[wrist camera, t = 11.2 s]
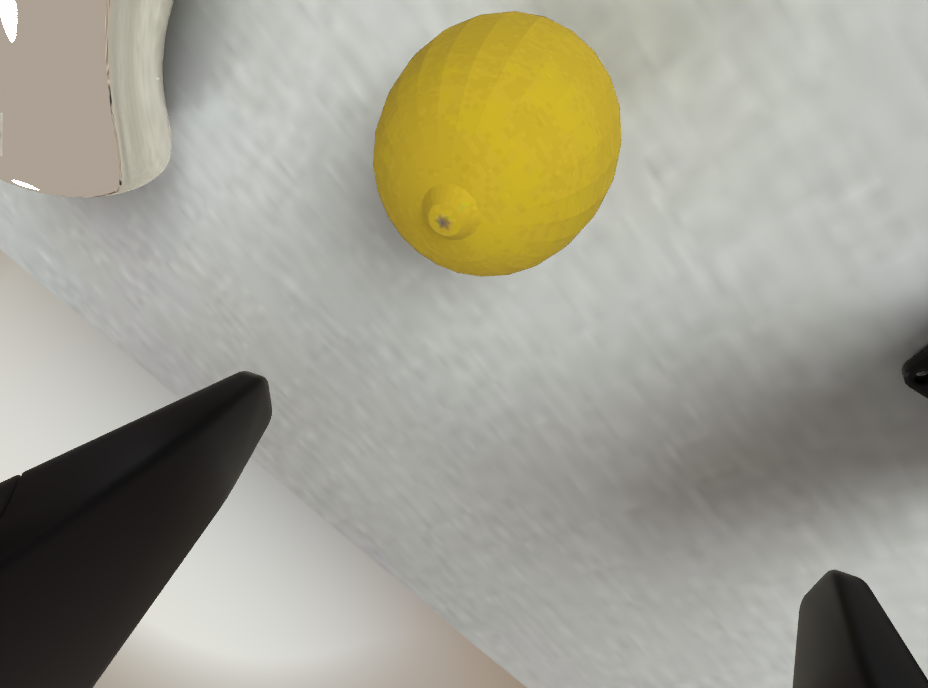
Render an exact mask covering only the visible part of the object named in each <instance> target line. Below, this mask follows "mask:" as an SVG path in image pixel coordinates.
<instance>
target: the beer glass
mask: <svg viewBox="0 0 928 688" xmlns="http://www.w3.org/2000/svg"><path fill="white" fill-rule="evenodd" d="M172 5H173V0H0V179H2V180H4V181H6V182H8V183H11V184H13V185H16V186H19V187H22V188H25V189H28V190H32V191H36V192H40V193H45V194H50V195H56V196H65V197H102V196H110V195H115V194H120V193H124V192H128V191H131V190H134V189H136V188H139V187H141V186H143V185H145V184H147V183H149V182H150V181H152V180H153V179H155V178H156V177H157V176H158V175H159V174H161V172H162V171H163V170H164V169H165V167H166V166H167V164H168V162H169V159H170V157H171V153H172V136H171V129H170V124H169V118H168V112H167V107H166V101H165V95H164V85H163V54H164V46H165V38H166V30H167V26H168V22H169V17H170V13H171V9H172Z"/></svg>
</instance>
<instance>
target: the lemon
mask: <svg viewBox="0 0 928 688" xmlns="http://www.w3.org/2000/svg"><path fill="white" fill-rule="evenodd" d="M620 147H621V123H620V108H619V103H618V100H617V97H616V94H615V90H614V87H613V84H612V81H611V78H610V76H609V74H608V72H607V71H606V69H605V68H604V66H603V65H602V63H601V61H600V60H599V58H598V57H597V55H596V54H595V52H594V51H593V50H592V49H591V48H590V47H589V46H588V45H587V44H586V43H585V42H584V41H582V40H581V39H580V38H579V37H578V36H577V35H576V34H575V33H574V32H573V31H571V30H569V29H567V28H565V27H563V26H561V25H559V24H557V23H556V22H554V21H552V20H550V19H548V18H546V17H542V16H537V15H532V14H527V13H521V12H503V13H493V14H483V15H479V16H476V17H474V18H472V19H469V20H467V21H464V22H462V23H459V24H457V25H454V26H452V27H449V28H448V29H446V30H444V31H443V32H442V33H440V34H439V35H438V36H437V37H436V38H434V39H433V40H432V41H431V42H429V43H428V44H427V45H426V46H424V47H423V48H422V49H421V50H420V51H419V52H417V53H416V54H415V55H414V57H413V58H412V59H411V60H410V62H409V63H408V65H407V66H406V68H405V69H404V71H403V72H402V73H401V75H400V76H399V78H398V79H397V81H396V82H395V84H394V85H393V87H392V89H391V90H390V92H389V94H388V97H387V99H386V102H385V105H384V108H383V111H382V114H381V117H380V120H379V122H378V126H377V129H376V134H375V147H374V162H373V166H374V172H375V177H376V183H377V188H378V192H379V196H380V198H381V200H382V203H383V205H384V208H385V210H386V213H387V215H388V217H389V219H390V220H391V221H392V223H393V224H394V226H395V227H396V229H397V230H398V232H399V233H400V235H401V236H402V237H403V238H404V239H405V240H406V241H407V242H408V243H409V244H410V245H411V246H412V247H413V248H414V249H415V250H416V251H417V252H419V253H420V254H422V255H423V256H425V257H426V258H428V259H430V260H431V261H433V262H434V263H436V264H437V265H440V266H442V267H445V268H447V269H450V270H453V271H455V272H458V273H463V274H469V275H475V276H496V275H509V274H512V273H515V272H519V271H522V270H525V269H528V268H531V267H534V266H536V265H538V264H540V263H541V262H543V261H544V260H546V259H548V258H549V257H551V256H552V255H554V254H555V253H557V252H558V251H560V250H561V249H563V248H564V247H566V246H567V245H568V244H569V243H570V242H571V241H572V240H573V239H574V238H575V237H576V235H577V234H578V233H579V232H580V231H581V230H582V229H583V228H584V227H585V226H586V224H587V223H588V222H589V221H590V220H591V219H592V218H593V217H594V215H595V214H596V212H597V211H598V209H599V207H600V205H601V203H602V201H603V199H604V197H605V195H606V193H607V191H608V189H609V187H610V185H611V183H612V181H613V179H614V175H615V171H616V166H617V161H618V156H619V151H620Z"/></svg>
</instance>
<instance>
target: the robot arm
mask: <svg viewBox="0 0 928 688" xmlns="http://www.w3.org/2000/svg"><path fill="white" fill-rule="evenodd" d="M921 371H928V348H926V349H925V350H923V351H922V352H920V353H919V354H917V355H916V356H914V357H913V358H911V359H910V360H908V361H907V362H906V363H905V364H904V365H903V367H902V374H903V377H904V380H905V383H906V384H907V385H908V386H909V387H910V388H912V389H913V390H915V391H917V392H918V393H920V394H921V395H923V396H925V397H926V398H928V374H926V375H920V376H918V375H916V374H917V373H919V372H921ZM271 416H272V405H271V399H270V392H269V385H268V381H267V380H266V378H265V377H263V376H260V375H257V374H254V373H251V372H248V371H242V372H238V373H236V374H234V375H232V376H230V377H227V378H225V379H223V380H221V381H219V382H217V383H215V384H212V385H210V386H208V387H206V388H204V389H202V390H199V391H197V392H195V393H193V394H191V395H189V396H187V397H184V398H182V399H180V400H178V401H176V402H174V403H171V404H169V405H167V406H165V407H163V408H161V409H159V410H157V411H154V412H152V413H150V414H148V415H146V416H143V417H141V418H139V419H137V420H135V421H133V422H131V423H128V424H126V425H124V426H122V427H120V428H118V429H116V430H113V431H111V432H109V433H107V434H105V435H103V436H100V437H98V438H96V439H95V440H92V441H90V442H88V443H86V444H83V445H81V446H79V447H77V448H75V449H73V450H70V451H68V452H66V453H64V454H62V455H60V456H58V457H55V458H53V459H51V460H49V461H47V462H44V463H42V464H40V465H38V466H36V467H34V468H32V469H29V470H27V471H25V472H24V473H22V476H20V475H16V476H14V477H12V478H10V479H8V480H5V481H3V482H1V483H0V688H93V686H94V685H95V683H96V682H97V681H98V679H99V678H100V677H101V675H102V674H103V672H104V671H105V670H106V668H107V667H108V665H109V664H110V662H111V661H112V660H113V658H114V657H115V655H116V654H117V652H118V651H119V650H120V648H121V647H122V646H123V644H124V643H125V641H126V640H127V638H128V637H129V636H130V634H131V633H132V631H133V630H134V629H135V627H136V626H137V624H138V623H139V622H140V620H141V619H142V617H143V616H144V615H145V613H146V612H147V610H148V609H149V608H150V606H151V605H152V603H153V602H154V601H155V599H156V598H157V596H158V595H159V593H160V592H161V590H162V589H163V588H164V586H165V585H166V584H167V582H168V581H169V579H170V578H171V577H172V575H173V574H174V572H175V571H176V570H177V568H178V567H179V565H180V564H181V563H182V561H183V560H184V558H185V557H186V555H187V554H188V553H189V551H190V550H191V549H192V547H193V546H194V544H195V543H196V541H197V540H198V539H199V537H200V536H201V534H202V533H203V532H204V530H205V529H206V527H207V526H208V524H209V523H210V522H211V520H212V519H213V518H214V516H215V515H216V513H217V512H218V511H219V509H220V508H221V506H222V504H223V503H224V501H225V500H226V499H227V497H228V495H229V493H230V492H231V490H232V489H233V487H234V485H235V483H236V482H237V480H238V478H239V476H240V474H241V473H242V471H243V469H244V467H245V465H246V464H247V462H248V460H249V458H250V457H251V455H252V453H253V451H254V449H255V448H256V446H257V444H258V442H259V440H260V439H261V437H262V435H263V433H264V431H265V430H266V428H267V426H268V424H269V422H270V419H271ZM793 688H928V680H927V678H926V676H925V675H924V673H923V672H922V670H921V668H920V667H919V665H918V664H917V662H916V661H915V659H914V657H913V656H912V654H911V653H910V651H909V649H908V648H907V646H906V645H905V643H904V641H903V640H902V638H901V637H900V635H899V634H898V632H897V630H896V629H895V627H894V626H893V624H892V622H891V621H890V619H889V618H888V616H887V615H886V613H885V611H884V610H883V608H882V607H881V605H880V603H879V602H878V600H877V599H876V597H875V596H874V594H873V592H872V591H871V589H870V588H869V586H868V585H867V584H866V583H865V582H864V581H863V580H862V579H860V578H858V577H856V576H853V575H850V574H847V573H844V572H841V571H838V570H831V571H828V572H827V573H826V574H825V575H824V576H823V577H822V578H821V579H820V580H819V581H818V582H817V583H816V584H815V585H814V586H813V587H812V588H811V590H810V591H809V592H808V593H807V594H806V595H805V596H804V598H803V600H802V602H801V605H800V610H799V620H798V631H797V643H796V655H795V666H794V678H793Z"/></svg>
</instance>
